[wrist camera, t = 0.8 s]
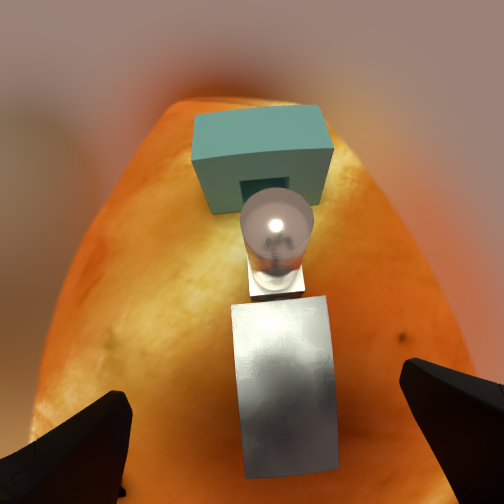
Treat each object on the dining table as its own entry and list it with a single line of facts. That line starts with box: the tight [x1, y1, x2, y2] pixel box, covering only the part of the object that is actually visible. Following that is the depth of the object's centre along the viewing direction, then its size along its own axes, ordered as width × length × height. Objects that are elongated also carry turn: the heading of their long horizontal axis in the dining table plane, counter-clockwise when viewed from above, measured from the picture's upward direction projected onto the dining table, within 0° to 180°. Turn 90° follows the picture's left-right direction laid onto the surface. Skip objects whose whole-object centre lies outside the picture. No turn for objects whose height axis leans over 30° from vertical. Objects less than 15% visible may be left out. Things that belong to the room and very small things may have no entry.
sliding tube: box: [240, 188, 314, 303], centre depth 15 cm, size 19×4×11 cm, turn 4°
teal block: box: [191, 105, 334, 214], centre depth 22 cm, size 5×10×8 cm, turn 94°
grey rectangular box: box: [231, 295, 339, 479], centre depth 17 cm, size 12×6×5 cm, turn 4°
